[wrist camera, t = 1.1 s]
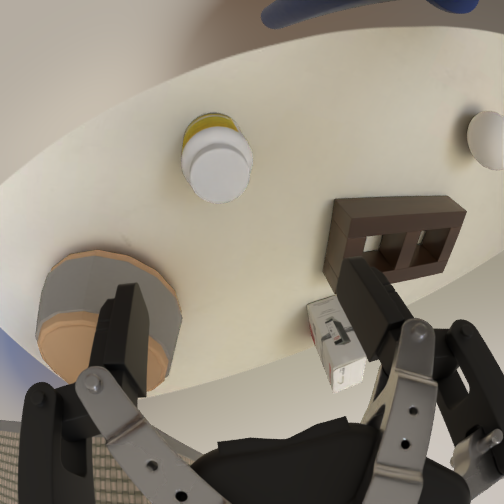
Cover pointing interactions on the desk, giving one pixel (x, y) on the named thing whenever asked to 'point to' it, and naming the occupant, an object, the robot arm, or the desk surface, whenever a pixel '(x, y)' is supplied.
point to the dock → (394, 235)
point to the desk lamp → (79, 350)
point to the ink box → (336, 344)
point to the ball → (487, 139)
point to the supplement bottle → (216, 158)
